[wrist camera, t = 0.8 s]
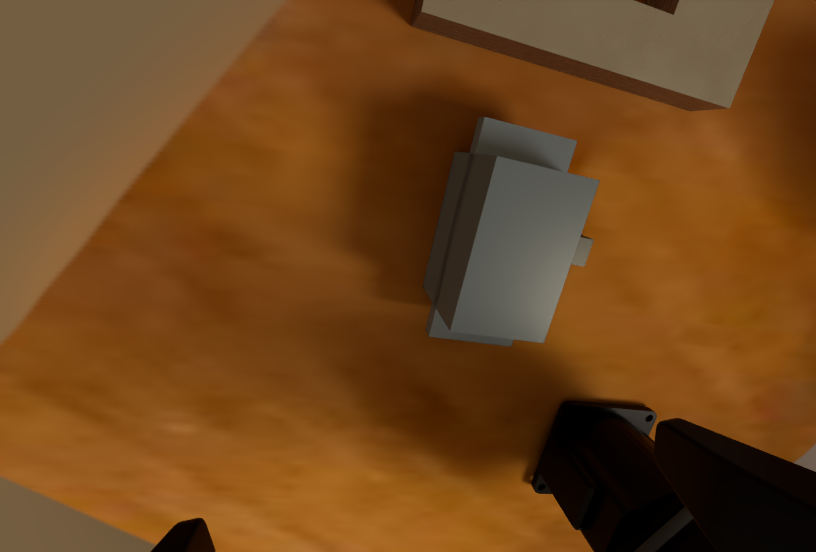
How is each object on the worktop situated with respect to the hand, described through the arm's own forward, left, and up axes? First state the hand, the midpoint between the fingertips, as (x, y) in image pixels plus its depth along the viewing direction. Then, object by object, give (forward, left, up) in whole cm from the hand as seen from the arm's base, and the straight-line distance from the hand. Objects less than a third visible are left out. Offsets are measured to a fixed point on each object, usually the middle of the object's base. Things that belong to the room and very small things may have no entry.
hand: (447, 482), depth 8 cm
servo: (-6, -3, -12) cm, 14 cm away
